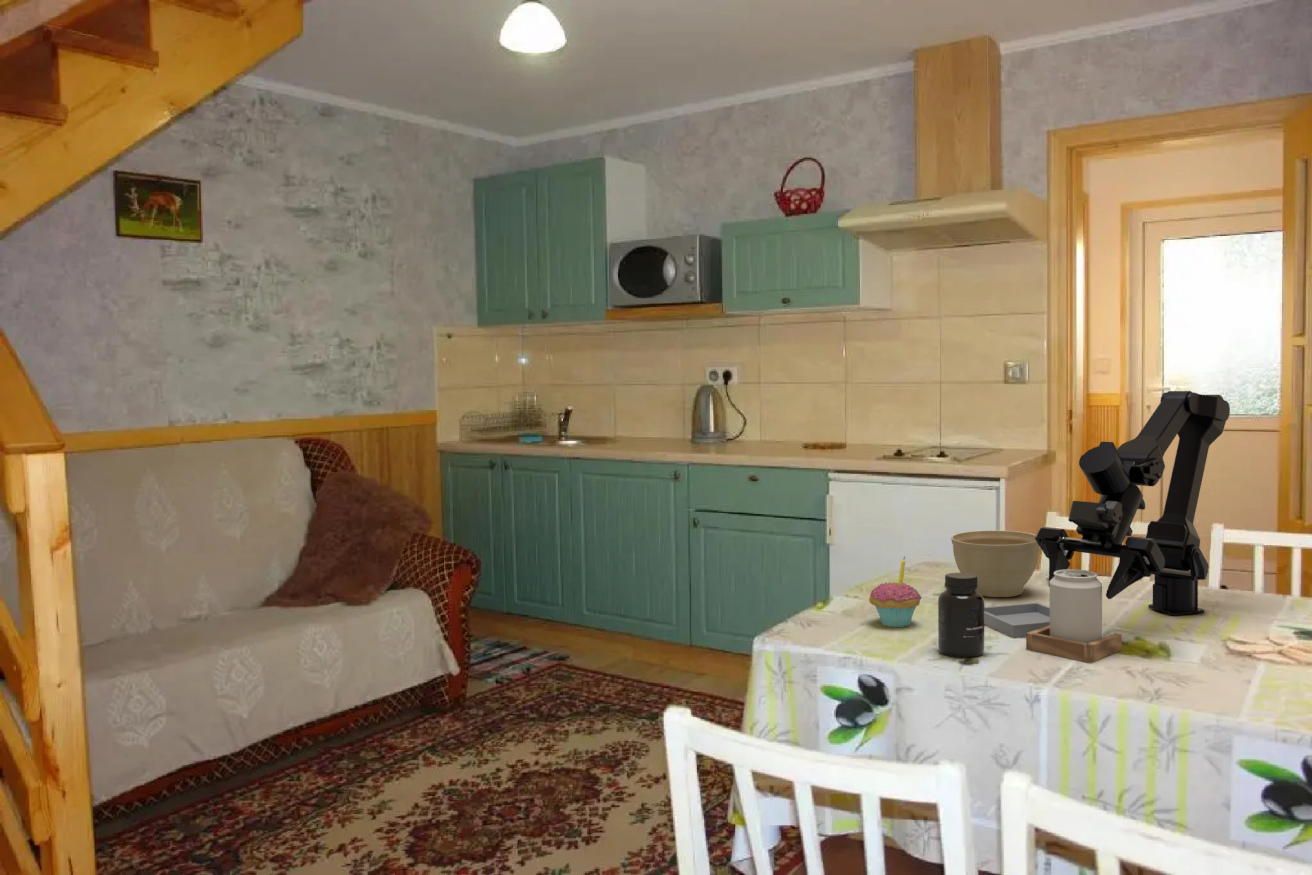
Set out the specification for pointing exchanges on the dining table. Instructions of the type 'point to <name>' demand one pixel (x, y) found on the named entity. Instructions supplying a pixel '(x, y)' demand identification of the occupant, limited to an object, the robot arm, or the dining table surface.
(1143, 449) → the robot arm
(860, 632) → the dining table surface
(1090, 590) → the can
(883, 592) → the cupcake
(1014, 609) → the tray
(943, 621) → the supplement bottle
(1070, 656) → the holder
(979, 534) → the planter bowl
